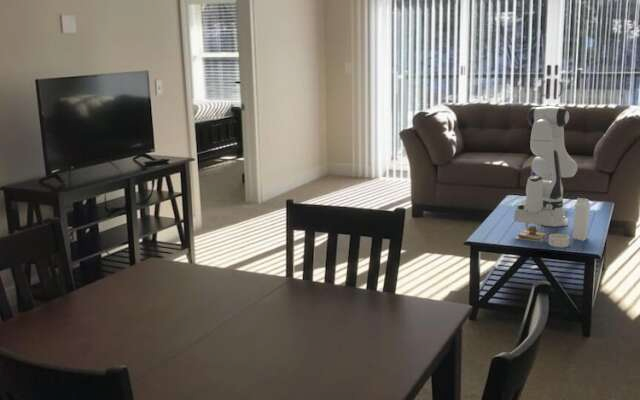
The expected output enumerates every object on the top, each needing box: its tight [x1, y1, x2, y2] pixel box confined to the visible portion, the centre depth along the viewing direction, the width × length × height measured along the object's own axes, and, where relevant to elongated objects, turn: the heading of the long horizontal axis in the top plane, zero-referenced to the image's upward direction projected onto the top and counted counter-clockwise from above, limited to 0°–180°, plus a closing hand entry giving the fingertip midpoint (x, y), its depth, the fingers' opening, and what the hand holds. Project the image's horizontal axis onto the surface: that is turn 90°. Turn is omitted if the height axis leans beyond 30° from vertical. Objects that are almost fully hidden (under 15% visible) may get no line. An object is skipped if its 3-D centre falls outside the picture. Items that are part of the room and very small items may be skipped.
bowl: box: [548, 233, 571, 248], centre depth 357 cm, size 10×10×5 cm
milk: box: [572, 197, 591, 242], centre depth 366 cm, size 6×6×22 cm
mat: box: [515, 234, 549, 243], centre depth 372 cm, size 14×14×1 cm
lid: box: [517, 225, 547, 240], centre depth 371 cm, size 12×12×5 cm
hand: (532, 231), depth 371 cm, fingers closed on lid, 3 cm apart
